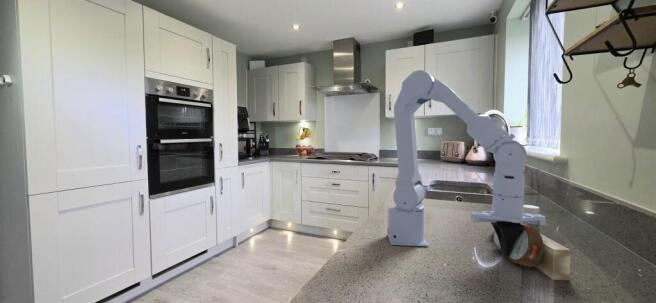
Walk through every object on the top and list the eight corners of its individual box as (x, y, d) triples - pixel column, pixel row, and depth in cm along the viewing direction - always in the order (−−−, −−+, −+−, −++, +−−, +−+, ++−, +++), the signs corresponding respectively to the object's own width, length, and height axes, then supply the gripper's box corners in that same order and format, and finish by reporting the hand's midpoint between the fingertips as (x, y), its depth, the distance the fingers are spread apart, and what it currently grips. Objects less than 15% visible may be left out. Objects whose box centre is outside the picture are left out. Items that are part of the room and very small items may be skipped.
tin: (533, 275, 53) (552, 238, 52) (517, 268, 54) (536, 231, 53) (498, 244, 68) (513, 215, 67) (486, 239, 68) (500, 210, 67)
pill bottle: (544, 239, 71) (545, 209, 71) (524, 238, 72) (525, 208, 72) (534, 233, 76) (535, 204, 75) (515, 232, 77) (516, 203, 76)
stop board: (552, 279, 51) (553, 249, 51) (491, 234, 75) (492, 213, 75) (569, 280, 51) (570, 250, 51) (502, 234, 75) (503, 214, 74)
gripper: (481, 197, 55) (479, 260, 56) (557, 199, 54) (553, 265, 54) (467, 191, 62) (466, 247, 63) (534, 192, 61) (531, 250, 61)
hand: (505, 254), depth 59 cm, fingers closed, pressing on tin
